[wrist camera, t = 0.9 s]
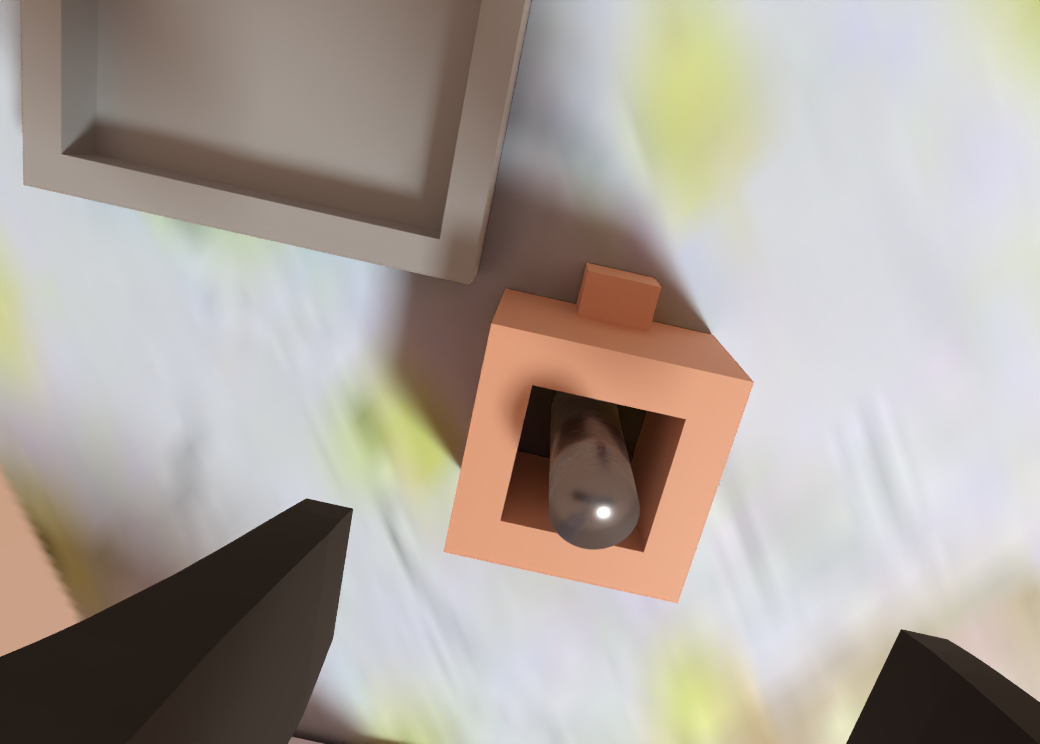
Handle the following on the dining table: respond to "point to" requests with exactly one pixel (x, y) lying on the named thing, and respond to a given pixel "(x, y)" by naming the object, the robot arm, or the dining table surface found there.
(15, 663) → the robot arm
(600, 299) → the collar
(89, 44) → the slate tray
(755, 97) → the dining table surface
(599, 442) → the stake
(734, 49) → the dining table surface
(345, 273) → the dining table surface
